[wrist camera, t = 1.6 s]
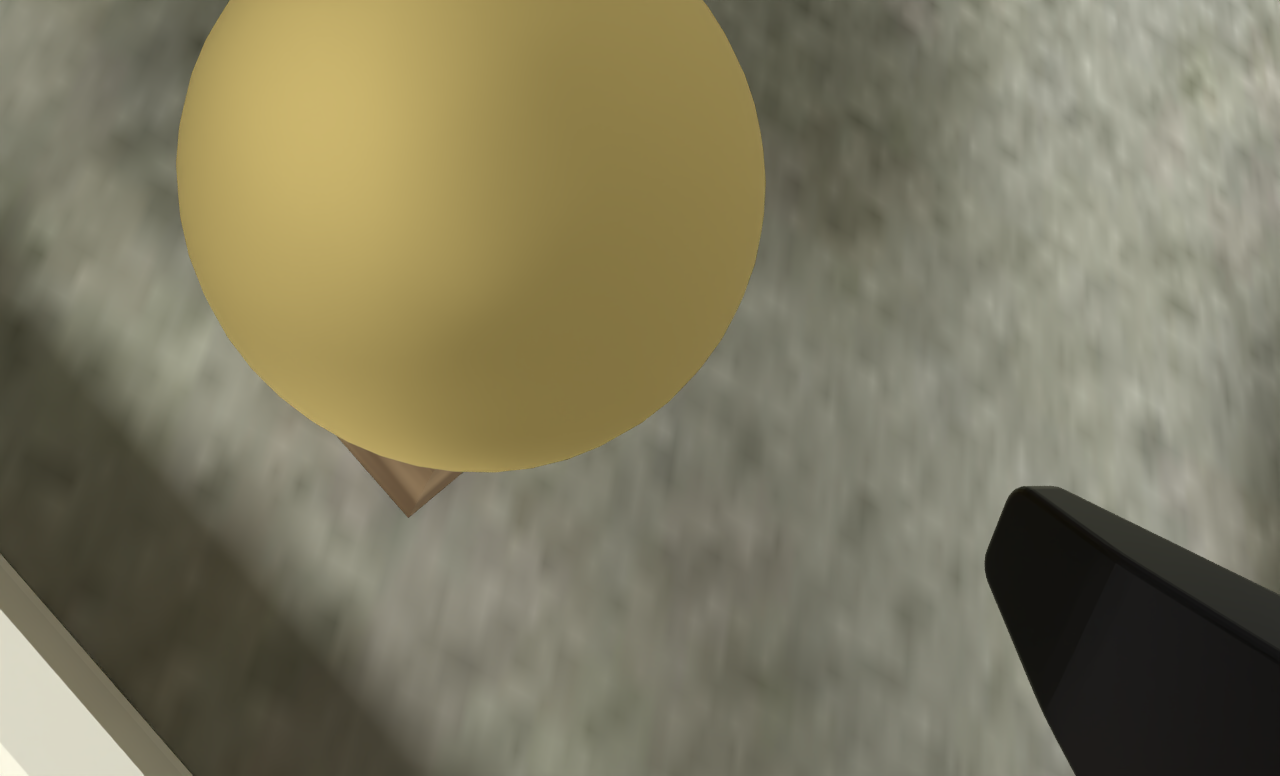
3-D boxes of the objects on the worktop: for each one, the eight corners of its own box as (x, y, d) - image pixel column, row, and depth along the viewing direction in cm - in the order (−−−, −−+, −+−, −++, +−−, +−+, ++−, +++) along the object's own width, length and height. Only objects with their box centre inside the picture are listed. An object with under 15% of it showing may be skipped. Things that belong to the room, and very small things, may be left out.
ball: (748, 326, 18) (994, 119, 12) (423, 615, 15) (503, 557, 9) (471, 11, 18) (559, -369, 12) (99, 244, 15) (-56, -83, 9)
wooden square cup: (562, 388, 22) (631, 304, 17) (408, 518, 20) (437, 464, 16) (432, 240, 22) (465, 116, 17) (268, 358, 20) (255, 256, 16)
